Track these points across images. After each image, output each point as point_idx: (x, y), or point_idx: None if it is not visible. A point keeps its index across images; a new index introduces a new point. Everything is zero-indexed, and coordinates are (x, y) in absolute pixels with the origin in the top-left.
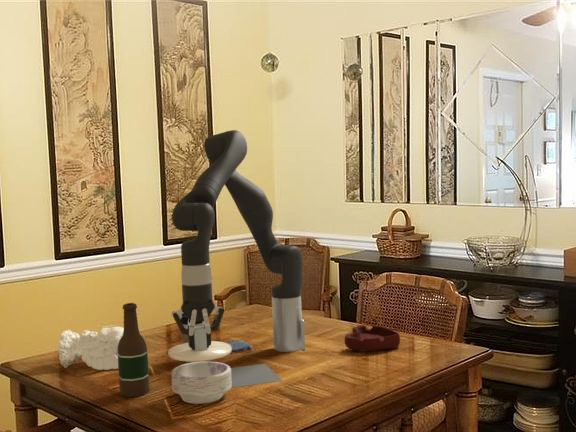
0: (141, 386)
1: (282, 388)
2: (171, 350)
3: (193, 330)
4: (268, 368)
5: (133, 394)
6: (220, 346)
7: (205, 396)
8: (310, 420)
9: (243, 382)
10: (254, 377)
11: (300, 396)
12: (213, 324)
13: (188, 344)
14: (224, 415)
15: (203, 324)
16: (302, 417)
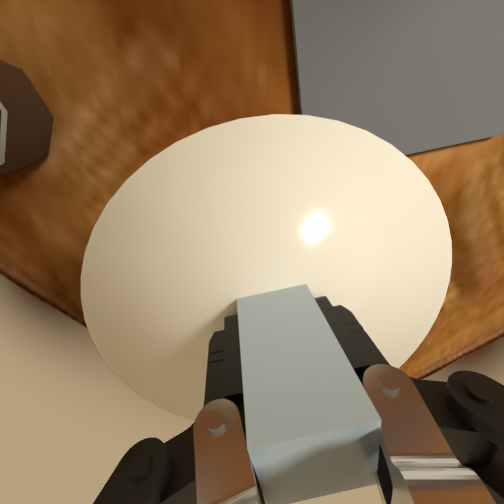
0: (21, 163)
1: (470, 187)
2: (102, 316)
3: (260, 495)
4: None
5: (12, 171)
6: (393, 286)
7: None
8: (429, 362)
9: (388, 122)
10: (441, 66)
11: (476, 254)
12: (493, 437)
13: (210, 348)
14: None
15: (389, 463)
16: (423, 351)
